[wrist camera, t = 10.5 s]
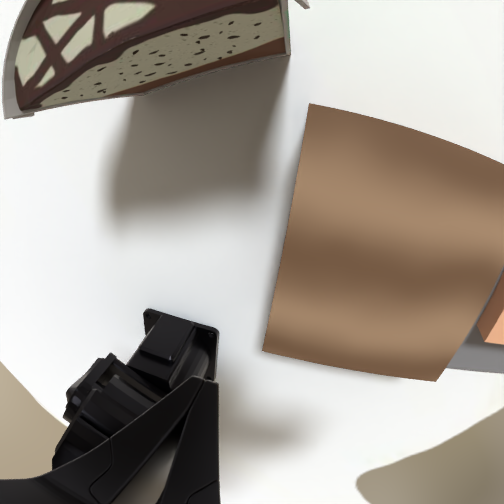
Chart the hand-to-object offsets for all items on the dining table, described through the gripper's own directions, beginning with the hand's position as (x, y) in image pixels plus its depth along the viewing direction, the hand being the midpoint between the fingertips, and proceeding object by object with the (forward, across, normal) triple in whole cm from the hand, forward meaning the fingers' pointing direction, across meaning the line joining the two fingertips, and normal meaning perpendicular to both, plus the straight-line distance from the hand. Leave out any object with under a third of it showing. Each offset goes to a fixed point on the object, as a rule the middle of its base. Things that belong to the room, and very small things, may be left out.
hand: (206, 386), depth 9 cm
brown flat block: (+12, -7, -1) cm, 14 cm away
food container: (+12, +6, -12) cm, 18 cm away
